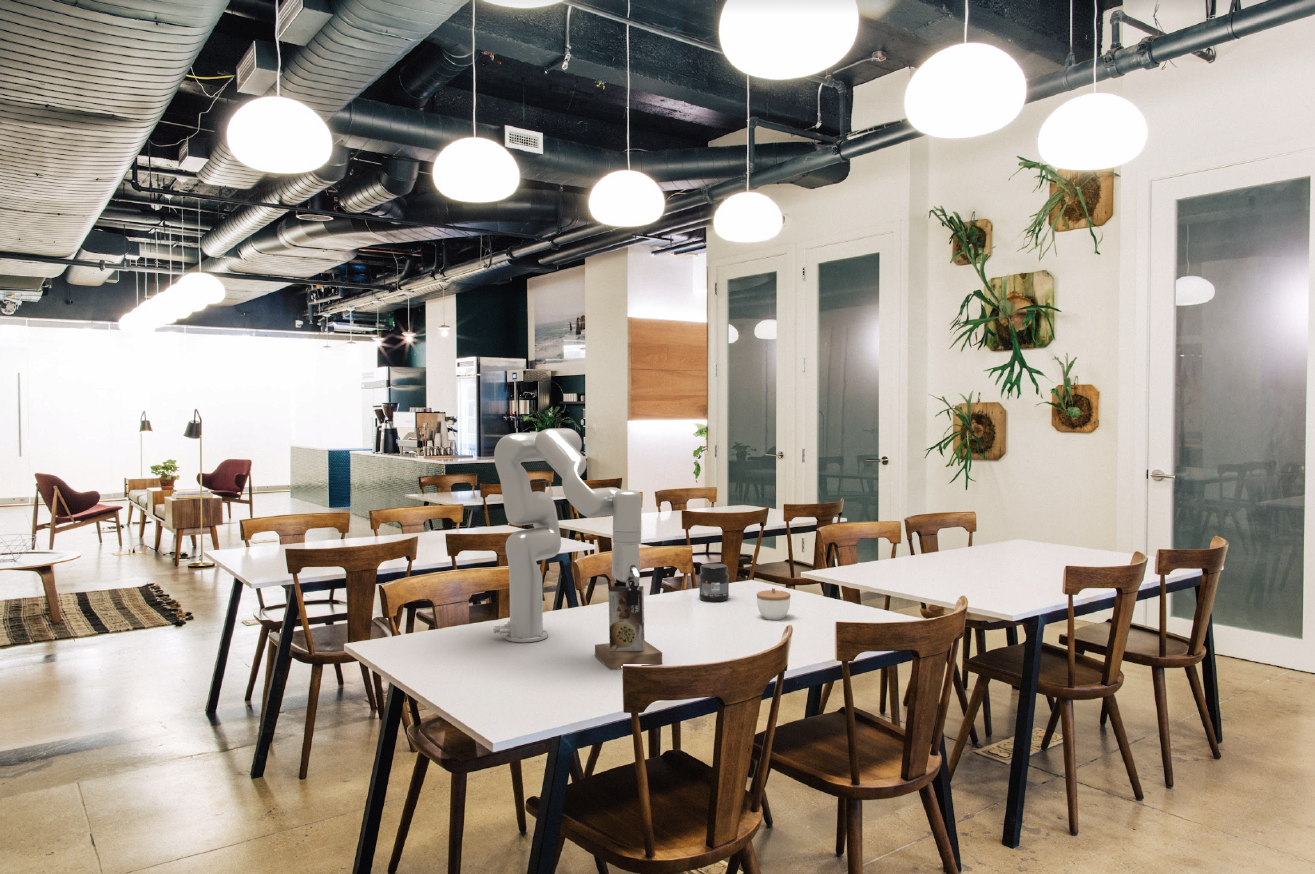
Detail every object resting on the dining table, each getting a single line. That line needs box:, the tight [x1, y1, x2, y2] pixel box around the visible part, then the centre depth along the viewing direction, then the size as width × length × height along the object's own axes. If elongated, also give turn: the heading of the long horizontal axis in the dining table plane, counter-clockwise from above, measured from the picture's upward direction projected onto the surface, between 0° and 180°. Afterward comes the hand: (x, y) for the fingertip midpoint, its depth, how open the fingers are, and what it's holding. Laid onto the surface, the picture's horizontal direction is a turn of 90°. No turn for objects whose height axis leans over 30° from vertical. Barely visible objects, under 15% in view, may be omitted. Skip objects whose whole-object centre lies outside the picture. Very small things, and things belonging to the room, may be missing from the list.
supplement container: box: [698, 563, 730, 603], centre depth 298 cm, size 10×10×12 cm
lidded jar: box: [756, 587, 791, 621], centre depth 270 cm, size 11×11×9 cm
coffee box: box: [607, 585, 646, 651], centre depth 224 cm, size 9×6×16 cm
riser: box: [594, 640, 663, 671], centre depth 224 cm, size 14×14×3 cm
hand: (626, 601), depth 224 cm, fingers open, 9 cm apart
